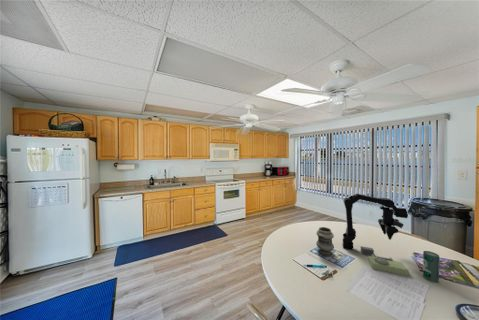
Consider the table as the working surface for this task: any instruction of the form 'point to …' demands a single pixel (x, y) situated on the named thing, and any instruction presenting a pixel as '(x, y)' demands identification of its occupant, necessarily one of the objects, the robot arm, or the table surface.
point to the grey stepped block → (367, 250)
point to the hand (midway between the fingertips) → (387, 236)
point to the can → (431, 266)
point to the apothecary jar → (325, 241)
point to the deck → (387, 265)
